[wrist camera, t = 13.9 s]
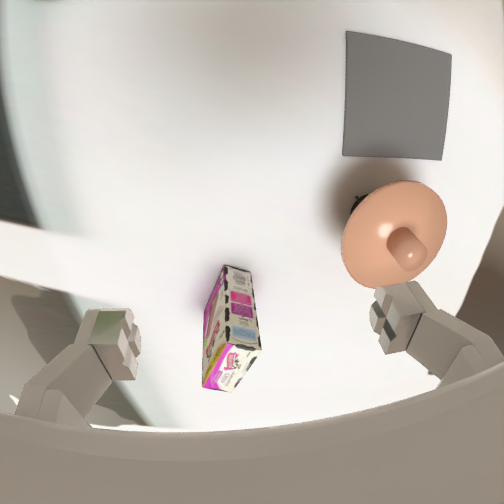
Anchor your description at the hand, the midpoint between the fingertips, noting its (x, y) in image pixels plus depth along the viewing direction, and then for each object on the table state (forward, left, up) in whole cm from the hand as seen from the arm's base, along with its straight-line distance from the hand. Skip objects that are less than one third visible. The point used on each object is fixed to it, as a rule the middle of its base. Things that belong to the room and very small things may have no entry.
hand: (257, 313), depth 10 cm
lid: (+13, +21, -24) cm, 35 cm away
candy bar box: (+28, -2, -34) cm, 44 cm away
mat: (-4, +25, -34) cm, 42 cm away
